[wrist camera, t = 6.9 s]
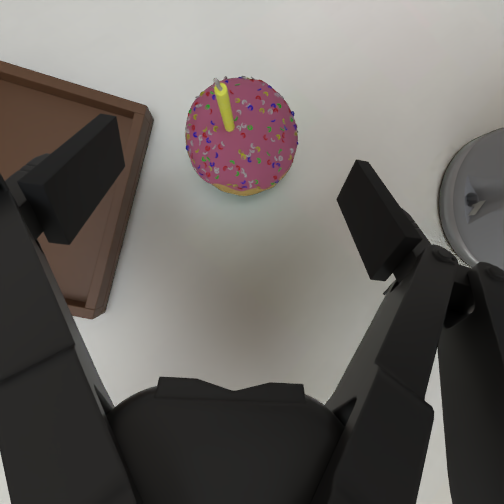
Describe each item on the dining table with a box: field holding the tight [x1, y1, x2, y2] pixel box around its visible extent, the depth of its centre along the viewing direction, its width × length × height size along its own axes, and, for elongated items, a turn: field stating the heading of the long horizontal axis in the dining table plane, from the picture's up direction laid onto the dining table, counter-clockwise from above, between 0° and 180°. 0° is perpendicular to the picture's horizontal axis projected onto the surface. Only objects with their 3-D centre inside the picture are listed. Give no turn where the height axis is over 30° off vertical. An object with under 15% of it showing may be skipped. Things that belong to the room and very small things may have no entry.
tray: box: [0, 61, 154, 319], centre depth 21 cm, size 18×14×2 cm
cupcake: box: [185, 76, 298, 196], centre depth 18 cm, size 9×8×12 cm
